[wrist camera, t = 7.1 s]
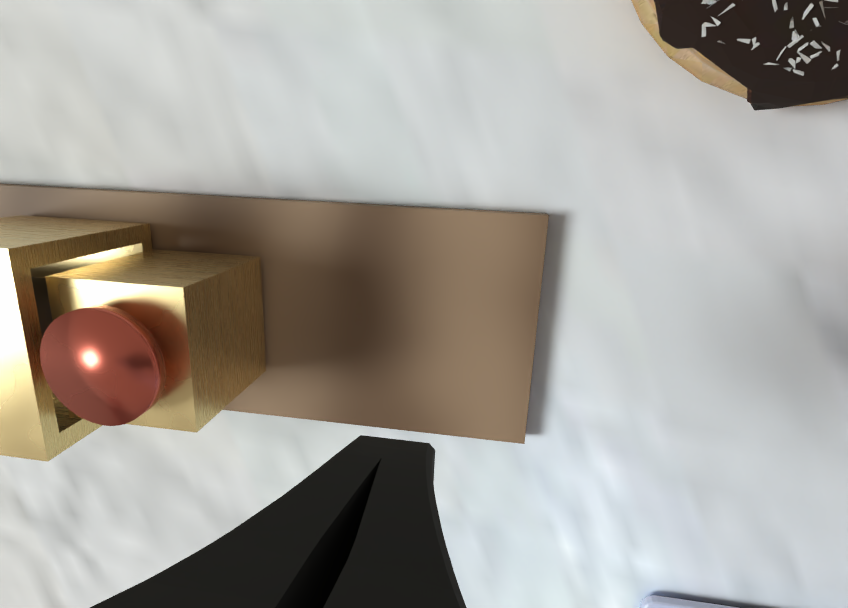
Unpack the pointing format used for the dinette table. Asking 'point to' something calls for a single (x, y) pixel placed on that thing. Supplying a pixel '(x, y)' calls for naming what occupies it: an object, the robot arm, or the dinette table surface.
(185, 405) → the tan boxy piece
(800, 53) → the donut
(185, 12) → the dinette table surface
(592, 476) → the dinette table surface
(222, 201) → the knob block baseplate
